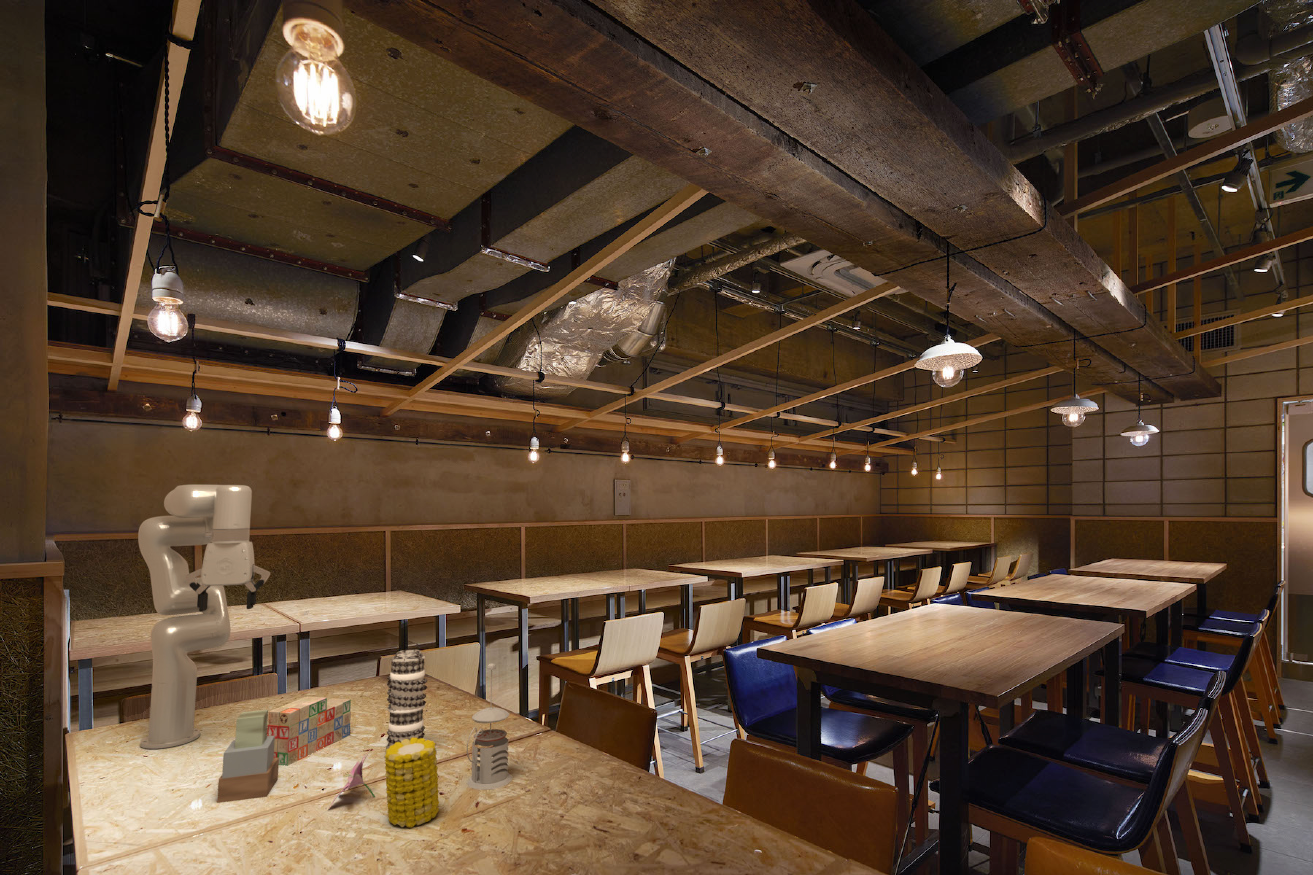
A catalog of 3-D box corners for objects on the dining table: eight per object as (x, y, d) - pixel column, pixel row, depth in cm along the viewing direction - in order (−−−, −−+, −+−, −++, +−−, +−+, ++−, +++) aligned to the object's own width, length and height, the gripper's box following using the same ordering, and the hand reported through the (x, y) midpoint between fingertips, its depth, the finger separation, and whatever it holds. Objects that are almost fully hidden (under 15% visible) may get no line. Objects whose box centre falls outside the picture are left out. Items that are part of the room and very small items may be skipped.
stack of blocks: (330, 733, 175) (332, 686, 176) (350, 735, 173) (352, 687, 174) (265, 764, 154) (267, 710, 155) (287, 766, 153) (290, 712, 154)
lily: (362, 787, 143) (340, 752, 142) (405, 771, 140) (382, 734, 139) (328, 831, 131) (303, 792, 130) (374, 814, 129) (349, 774, 127)
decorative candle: (375, 762, 154) (379, 654, 157) (404, 749, 163) (407, 646, 165) (405, 768, 151) (409, 657, 153) (433, 754, 159) (436, 649, 162)
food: (447, 821, 128) (403, 846, 120) (410, 793, 135) (365, 815, 126) (458, 747, 128) (414, 767, 119) (420, 723, 134) (376, 740, 125)
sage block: (240, 740, 142) (242, 712, 143) (266, 737, 144) (268, 709, 144) (234, 748, 137) (236, 719, 138) (262, 745, 139) (263, 716, 140)
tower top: (231, 764, 142) (233, 740, 142) (273, 758, 145) (274, 735, 145) (222, 778, 134) (223, 753, 135) (266, 772, 137) (267, 747, 138)
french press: (521, 775, 146) (523, 660, 149) (487, 796, 136) (489, 672, 138) (486, 768, 150) (488, 656, 153) (451, 788, 140) (453, 668, 142)
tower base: (231, 786, 142) (232, 762, 143) (277, 780, 145) (278, 757, 146) (217, 804, 134) (218, 778, 134) (266, 798, 136) (268, 773, 137)
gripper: (182, 538, 150) (177, 614, 148) (267, 536, 155) (263, 609, 154) (194, 536, 157) (190, 609, 155) (275, 535, 162) (272, 605, 161)
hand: (226, 609), depth 154 cm, fingers open, 9 cm apart
